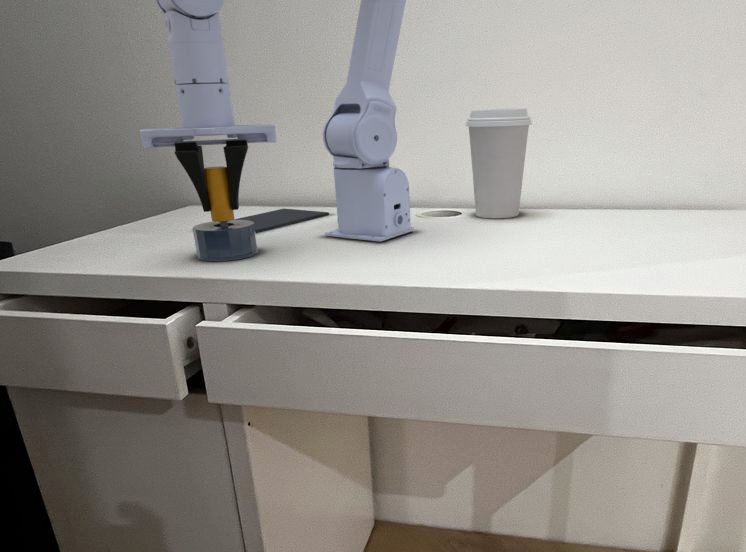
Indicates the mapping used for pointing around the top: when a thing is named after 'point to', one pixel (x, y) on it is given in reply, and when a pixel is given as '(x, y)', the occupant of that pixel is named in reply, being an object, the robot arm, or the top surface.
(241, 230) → the squat holed cylinder
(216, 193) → the screwdriver
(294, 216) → the mat
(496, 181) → the coffee cup
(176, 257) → the top surface
